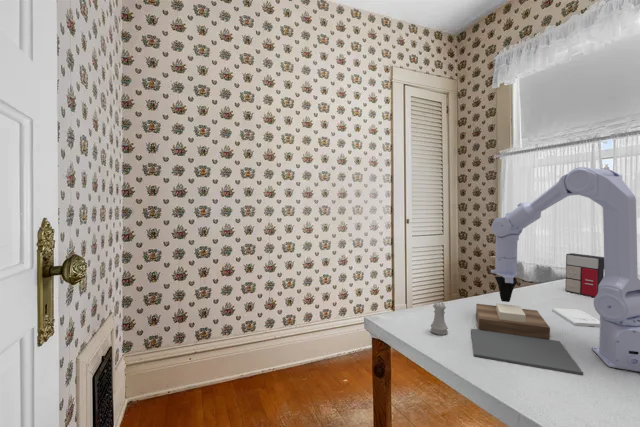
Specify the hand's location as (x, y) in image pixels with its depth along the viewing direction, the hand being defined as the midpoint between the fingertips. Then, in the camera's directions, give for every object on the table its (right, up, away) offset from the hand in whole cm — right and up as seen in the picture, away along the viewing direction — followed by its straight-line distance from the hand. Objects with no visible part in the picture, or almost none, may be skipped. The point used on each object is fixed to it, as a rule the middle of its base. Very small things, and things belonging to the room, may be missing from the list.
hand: (505, 301), depth 97 cm
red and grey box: (+44, -4, +24) cm, 51 cm away
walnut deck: (-3, -5, -7) cm, 9 cm away
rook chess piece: (-25, -6, -11) cm, 27 cm away
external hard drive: (+21, -6, -1) cm, 22 cm away
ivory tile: (-4, -2, -9) cm, 10 cm away
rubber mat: (-9, -6, -21) cm, 24 cm away
